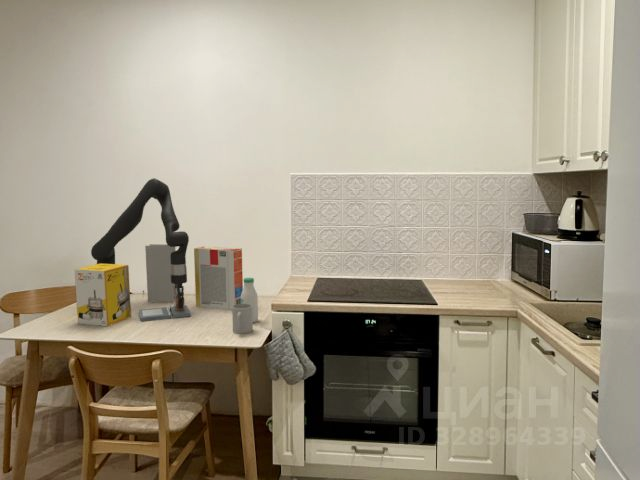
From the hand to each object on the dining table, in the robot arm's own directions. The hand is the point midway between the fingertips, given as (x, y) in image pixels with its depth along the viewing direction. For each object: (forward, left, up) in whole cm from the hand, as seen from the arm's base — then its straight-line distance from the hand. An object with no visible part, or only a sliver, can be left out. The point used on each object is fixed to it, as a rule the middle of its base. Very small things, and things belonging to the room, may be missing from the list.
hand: (179, 306), depth 250 cm
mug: (+21, -41, -4) cm, 46 cm away
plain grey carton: (-6, +30, -4) cm, 31 cm away
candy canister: (+28, -26, -4) cm, 39 cm away
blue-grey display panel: (-12, 0, -3) cm, 12 cm away
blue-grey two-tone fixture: (0, 0, -3) cm, 3 cm away
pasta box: (+20, +6, -4) cm, 21 cm away
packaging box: (-34, +1, -4) cm, 34 cm away
